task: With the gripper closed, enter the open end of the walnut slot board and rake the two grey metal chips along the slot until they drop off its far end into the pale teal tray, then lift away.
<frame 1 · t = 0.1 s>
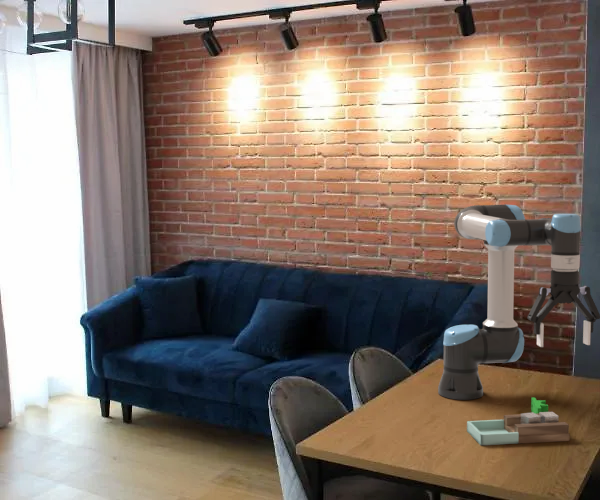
hand: (563, 345, 218), 28 cm above the table, fingers open, 13 cm apart
tray: (492, 437, 225), on the table
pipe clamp: (539, 417, 243), on the table
slot board: (535, 434, 226), on the table
chip rear: (548, 427, 226), point 2 cm above the table, touching slot board
chip front: (530, 428, 226), point 2 cm above the table, touching slot board
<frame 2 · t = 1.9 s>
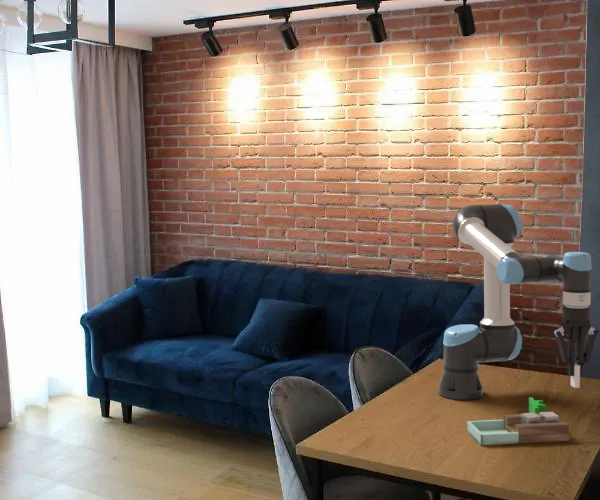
hand: (575, 386, 226), 14 cm above the table, fingers closed
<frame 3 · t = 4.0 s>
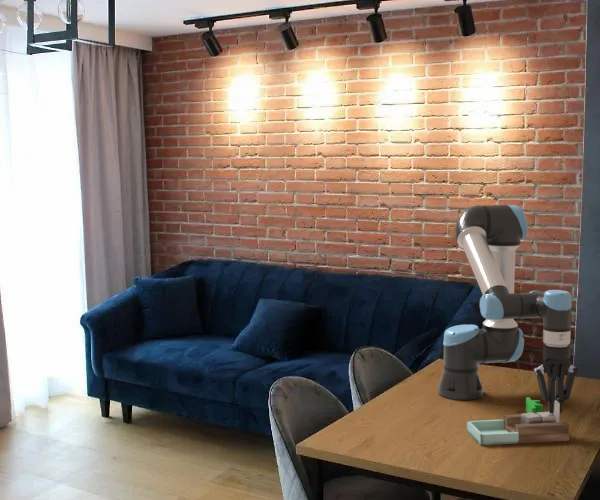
hand: (554, 423, 227), 3 cm above the table, fingers closed
chip rear: (545, 427, 226), point 2 cm above the table, touching gripper
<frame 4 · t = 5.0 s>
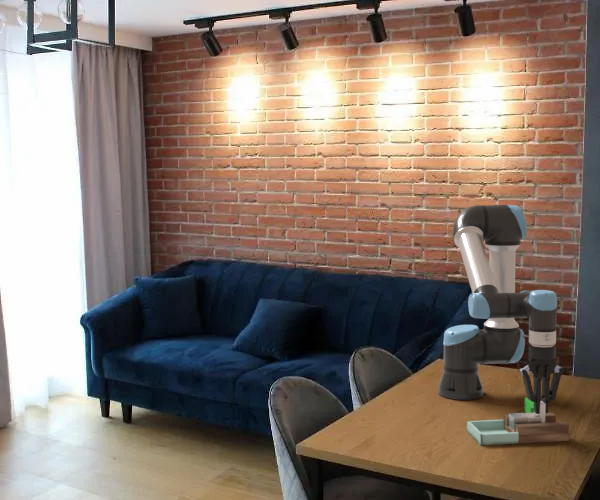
hand: (540, 424, 226), 3 cm above the table, fingers closed
chip rear: (531, 428, 226), point 2 cm above the table, touching chip front, gripper
chip front: (518, 428, 226), point 2 cm above the table, touching chip rear
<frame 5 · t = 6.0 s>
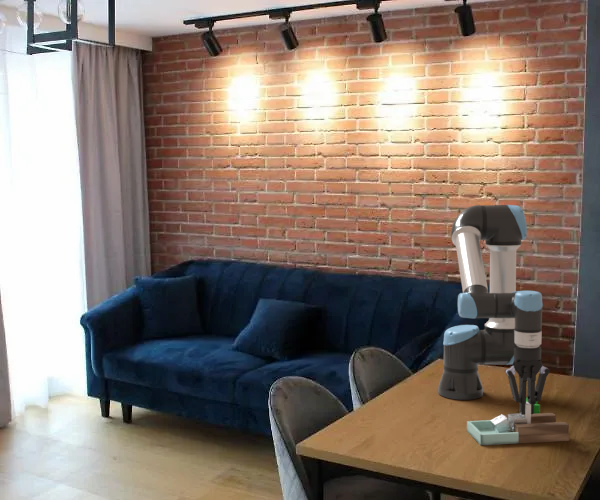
hand: (526, 425, 226), 3 cm above the table, fingers closed
chip rear: (517, 429, 225), point 2 cm above the table, touching chip front, gripper
chip front: (504, 431, 225), point 1 cm above the table, tilted 25°, touching chip rear
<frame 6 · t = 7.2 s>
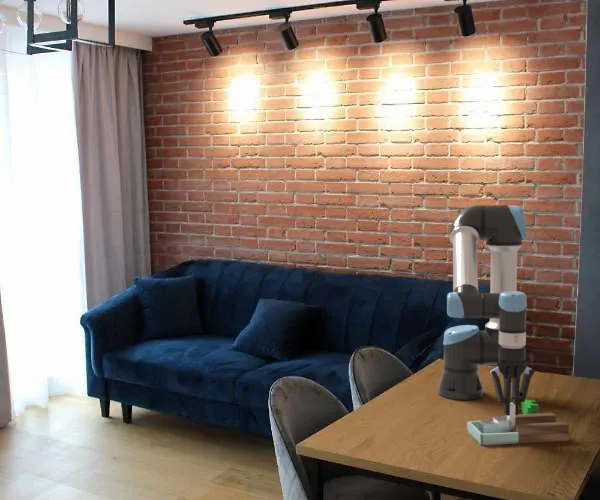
hand: (510, 425, 225), 3 cm above the table, fingers closed
chip rear: (501, 432, 225), point 1 cm above the table, touching chip front, gripper
chip front: (487, 435, 225), point 1 cm above the table, touching chip rear, tray
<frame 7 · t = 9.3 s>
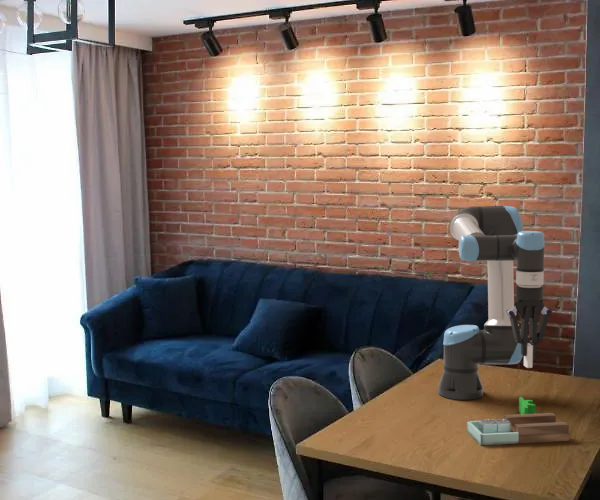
hand: (527, 366, 224), 20 cm above the table, fingers closed
chip rear: (501, 434, 225), point 1 cm above the table, touching tray
chip front: (487, 435, 225), point 1 cm above the table, touching tray
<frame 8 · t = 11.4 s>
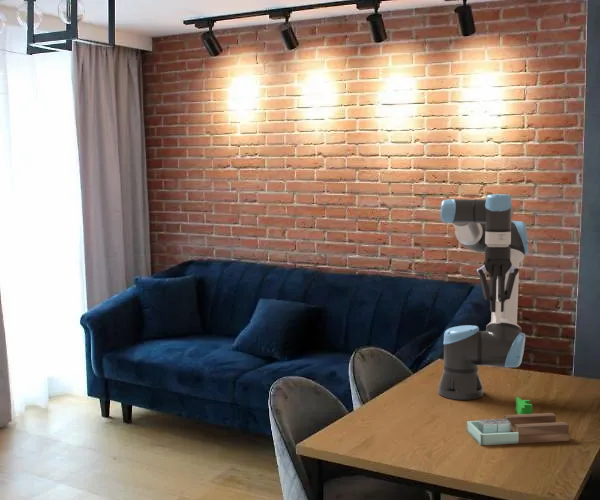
hand: (496, 322, 237), 30 cm above the table, fingers closed
at the end: chip rear inside the target area on the tray (3.0 cm from its centre), point 0.6 cm above the tray's base; chip front inside the target area on the tray (1.1 cm from its centre), point 0.6 cm above the tray's base; chip rear touching tray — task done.
